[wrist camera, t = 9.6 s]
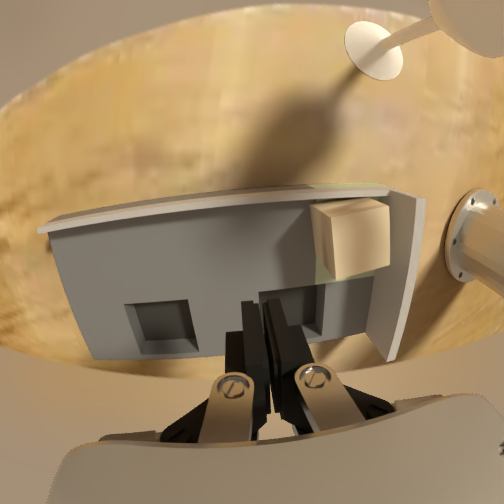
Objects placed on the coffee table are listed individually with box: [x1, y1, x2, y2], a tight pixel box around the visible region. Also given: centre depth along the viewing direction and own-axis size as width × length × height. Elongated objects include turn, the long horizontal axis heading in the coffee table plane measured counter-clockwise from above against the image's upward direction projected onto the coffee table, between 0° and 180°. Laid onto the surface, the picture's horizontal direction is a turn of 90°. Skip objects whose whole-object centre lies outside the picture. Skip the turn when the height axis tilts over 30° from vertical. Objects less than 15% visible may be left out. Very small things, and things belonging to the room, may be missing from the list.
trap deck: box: [37, 183, 426, 362], centre depth 22 cm, size 30×15×8 cm, turn 94°
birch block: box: [309, 197, 390, 280], centre depth 20 cm, size 4×4×4 cm
